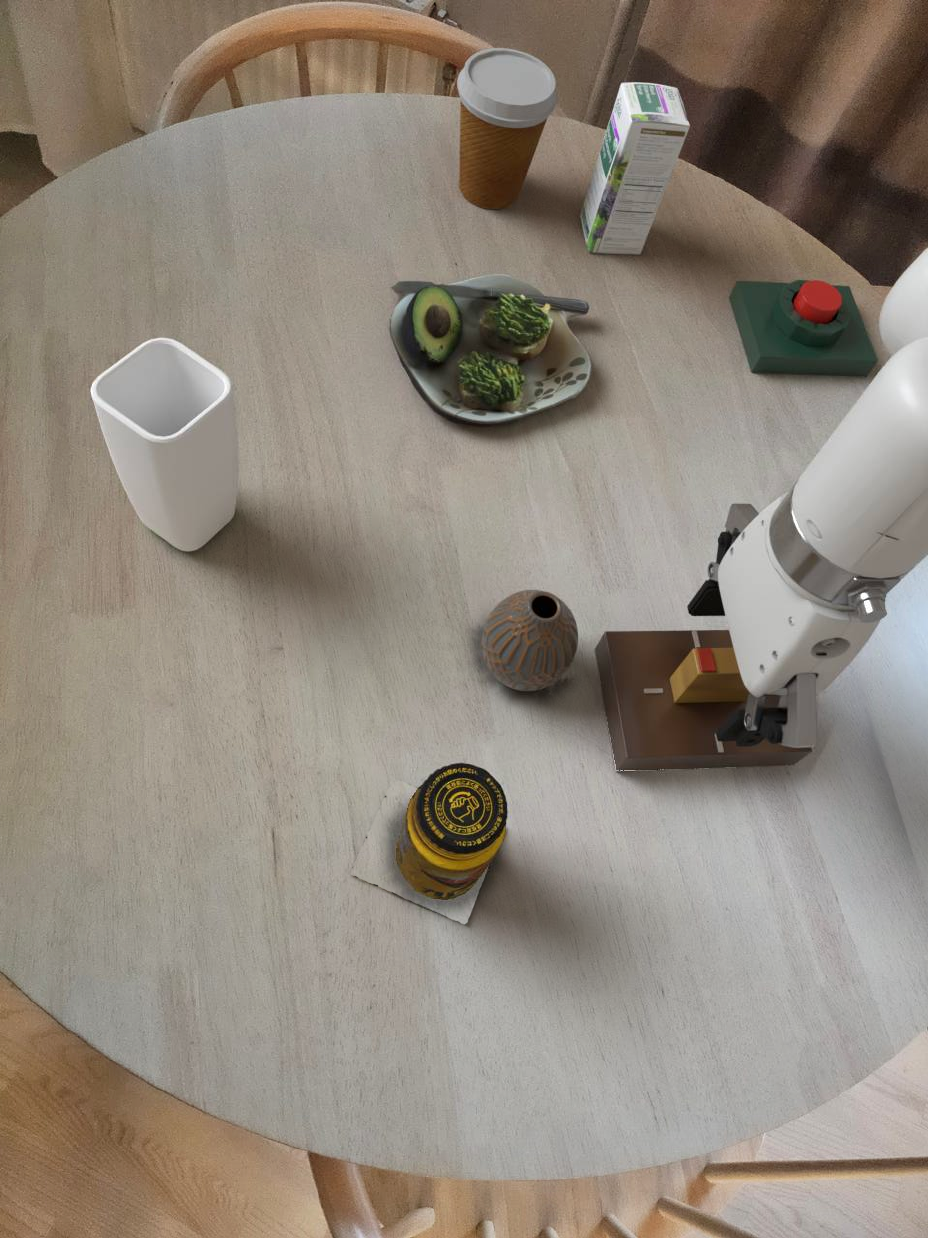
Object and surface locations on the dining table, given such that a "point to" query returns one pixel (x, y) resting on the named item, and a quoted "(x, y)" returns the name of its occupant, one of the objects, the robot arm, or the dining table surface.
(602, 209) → the syrup box
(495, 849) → the condiment
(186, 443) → the cup
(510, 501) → the dining table surface
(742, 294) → the green button box
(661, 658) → the plate
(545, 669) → the vase
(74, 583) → the dining table surface
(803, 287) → the round red push button
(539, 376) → the avocado toast plate
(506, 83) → the disposable coffee cup
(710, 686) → the thumbturn
